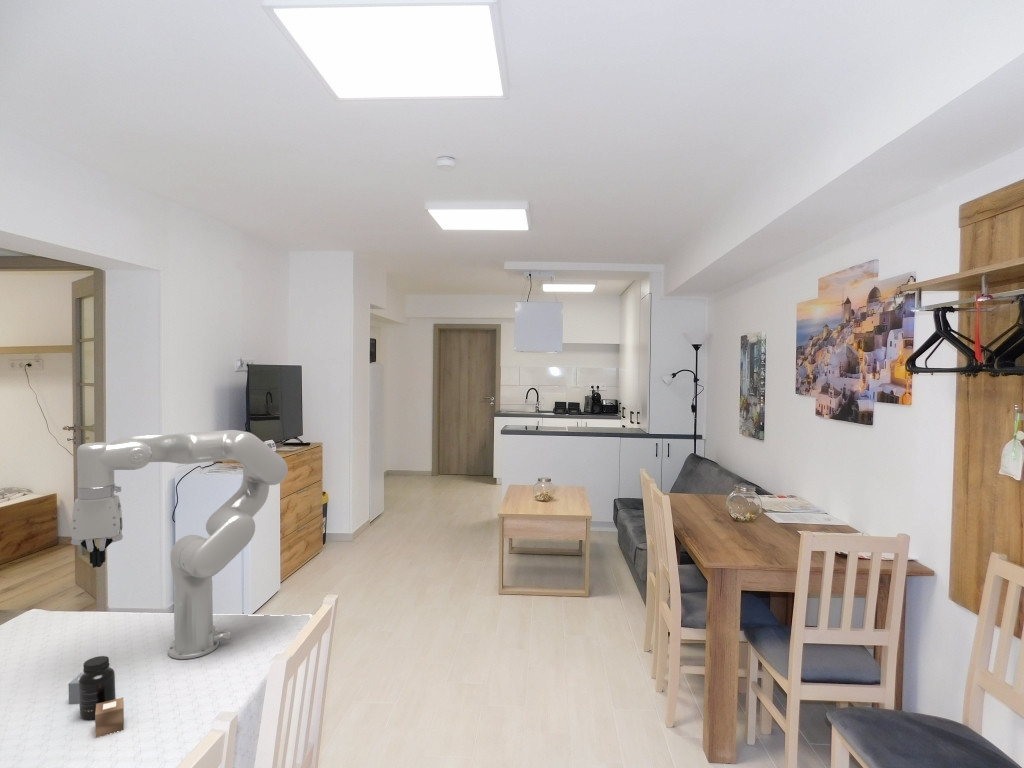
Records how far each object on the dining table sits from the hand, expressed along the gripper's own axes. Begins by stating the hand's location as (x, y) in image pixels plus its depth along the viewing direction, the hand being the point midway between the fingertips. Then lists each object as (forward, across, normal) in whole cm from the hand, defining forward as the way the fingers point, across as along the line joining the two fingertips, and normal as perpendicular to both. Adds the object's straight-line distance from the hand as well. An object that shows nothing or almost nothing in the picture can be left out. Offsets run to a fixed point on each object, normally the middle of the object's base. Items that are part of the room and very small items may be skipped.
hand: (97, 565), depth 150 cm
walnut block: (+29, -7, +24) cm, 38 cm away
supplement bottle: (+29, -3, +16) cm, 34 cm away
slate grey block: (+29, +1, +8) cm, 30 cm away
